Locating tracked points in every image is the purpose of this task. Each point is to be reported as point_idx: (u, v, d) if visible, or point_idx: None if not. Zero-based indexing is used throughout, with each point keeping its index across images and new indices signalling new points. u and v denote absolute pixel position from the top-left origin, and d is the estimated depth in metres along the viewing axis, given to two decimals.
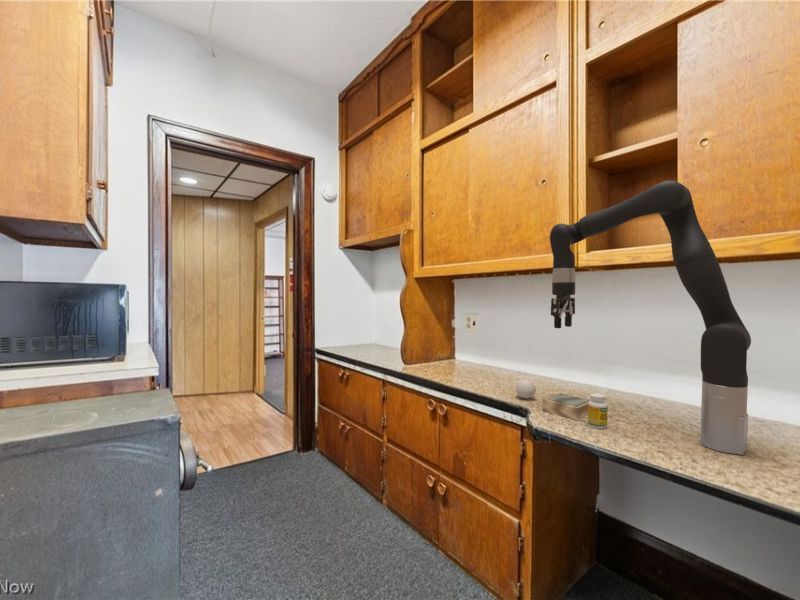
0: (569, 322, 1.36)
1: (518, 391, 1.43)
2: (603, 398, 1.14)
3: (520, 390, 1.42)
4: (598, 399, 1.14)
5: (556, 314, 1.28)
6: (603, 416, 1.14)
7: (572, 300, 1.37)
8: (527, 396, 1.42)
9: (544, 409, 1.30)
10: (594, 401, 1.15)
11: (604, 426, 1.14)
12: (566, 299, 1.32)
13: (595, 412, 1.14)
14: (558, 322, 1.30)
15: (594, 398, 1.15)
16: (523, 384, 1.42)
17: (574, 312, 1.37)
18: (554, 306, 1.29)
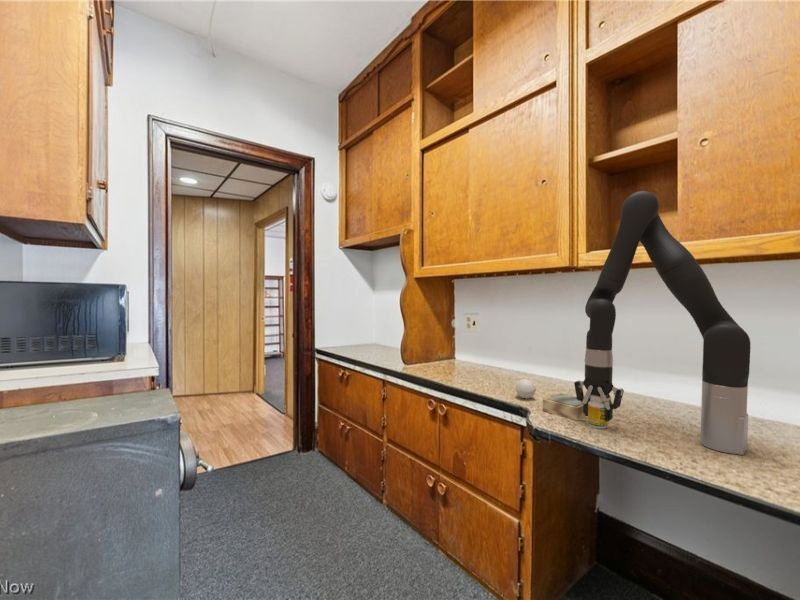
0: None
1: (518, 391, 1.43)
2: None
3: (520, 390, 1.42)
4: (598, 399, 1.14)
5: (619, 406, 1.12)
6: (603, 416, 1.14)
7: None
8: (527, 396, 1.42)
9: (544, 409, 1.30)
10: (594, 401, 1.15)
11: (604, 426, 1.14)
12: None
13: (595, 412, 1.14)
14: (611, 414, 1.14)
15: (594, 398, 1.15)
16: (523, 384, 1.42)
17: None
18: (620, 399, 1.11)
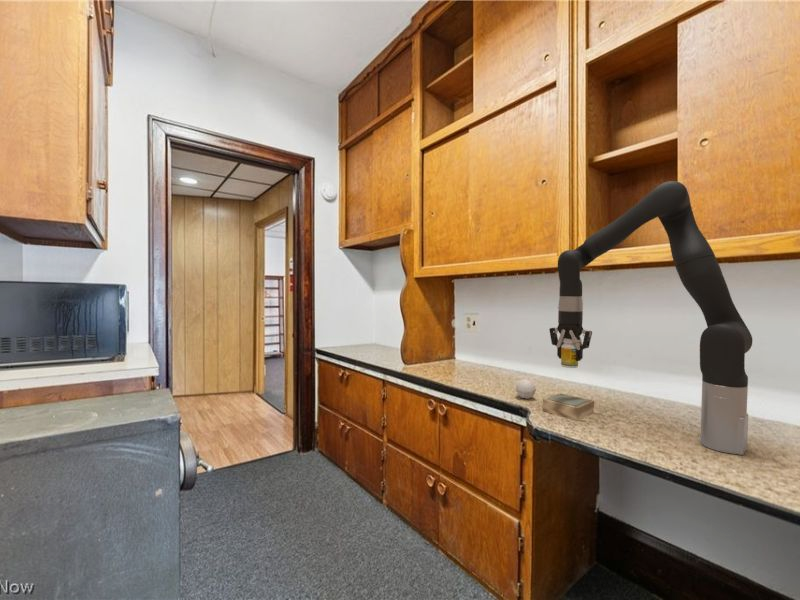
0: None
1: (518, 391, 1.43)
2: None
3: (520, 390, 1.42)
4: (570, 341, 1.26)
5: (588, 346, 1.25)
6: (574, 356, 1.26)
7: None
8: (527, 396, 1.42)
9: (544, 409, 1.30)
10: (566, 343, 1.27)
11: (575, 365, 1.26)
12: None
13: (567, 353, 1.26)
14: None
15: (566, 340, 1.27)
16: (523, 384, 1.42)
17: (557, 342, 1.33)
18: (589, 339, 1.24)
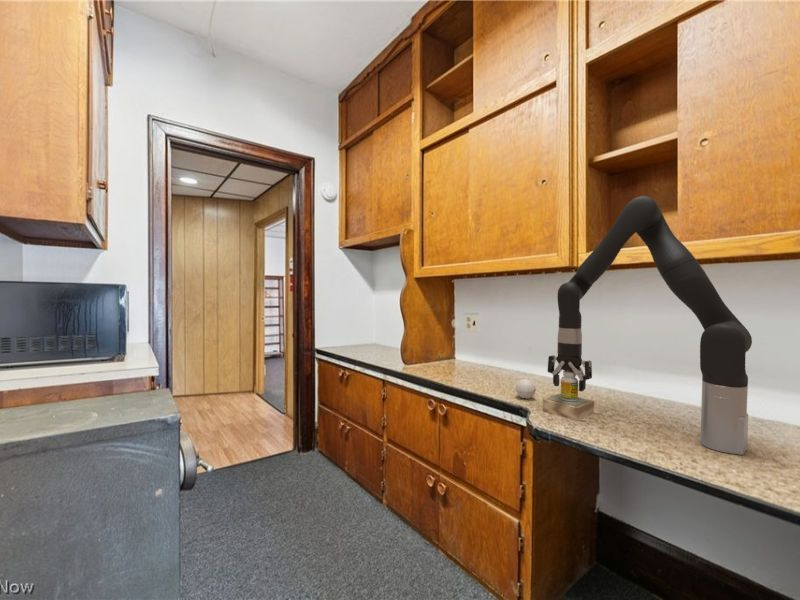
0: (558, 381, 1.32)
1: (518, 391, 1.43)
2: (574, 374, 1.27)
3: (520, 390, 1.42)
4: (569, 375, 1.27)
5: (591, 377, 1.24)
6: (573, 390, 1.26)
7: None
8: (527, 396, 1.42)
9: (544, 409, 1.30)
10: (566, 377, 1.28)
11: (575, 399, 1.27)
12: None
13: (567, 387, 1.27)
14: None
15: (566, 374, 1.27)
16: (523, 384, 1.42)
17: None
18: (590, 369, 1.24)
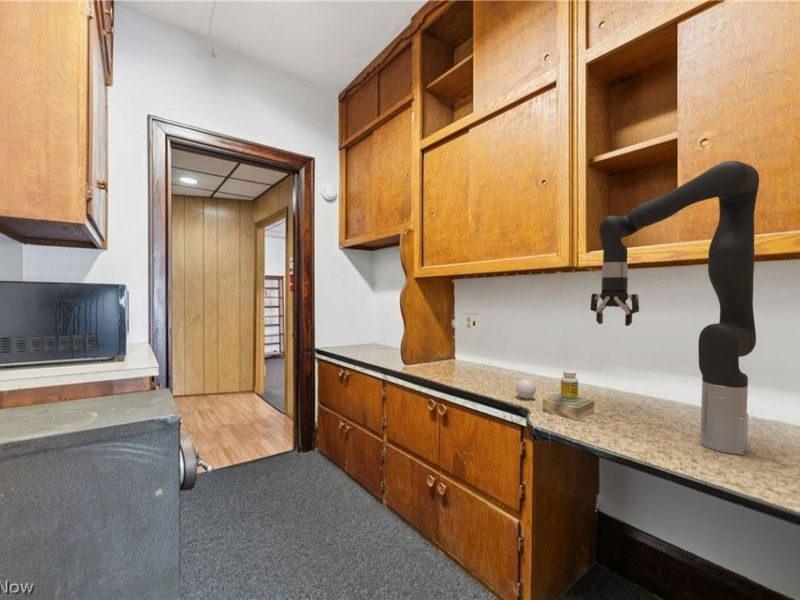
0: (602, 319, 1.30)
1: (518, 391, 1.43)
2: (574, 374, 1.27)
3: (520, 390, 1.42)
4: (569, 375, 1.27)
5: (638, 311, 1.22)
6: (573, 390, 1.26)
7: None
8: (527, 396, 1.42)
9: (544, 409, 1.30)
10: (566, 377, 1.28)
11: (575, 399, 1.27)
12: None
13: (567, 387, 1.27)
14: None
15: (566, 374, 1.27)
16: (523, 384, 1.42)
17: None
18: (637, 302, 1.21)
